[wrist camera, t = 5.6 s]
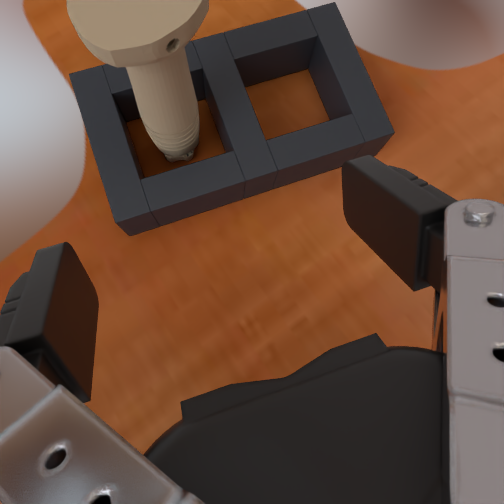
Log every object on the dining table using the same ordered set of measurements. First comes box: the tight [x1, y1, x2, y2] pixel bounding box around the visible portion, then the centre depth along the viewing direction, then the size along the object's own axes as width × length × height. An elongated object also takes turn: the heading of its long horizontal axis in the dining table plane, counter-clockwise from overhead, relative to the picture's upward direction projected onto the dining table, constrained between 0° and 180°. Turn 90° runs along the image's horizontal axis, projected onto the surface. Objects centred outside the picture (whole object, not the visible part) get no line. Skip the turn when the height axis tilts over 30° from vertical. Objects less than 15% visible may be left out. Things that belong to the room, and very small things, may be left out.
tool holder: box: [69, 2, 395, 236], centre depth 31 cm, size 22×12×4 cm, turn 110°
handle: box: [67, 0, 209, 162], centre depth 25 cm, size 5×6×15 cm
